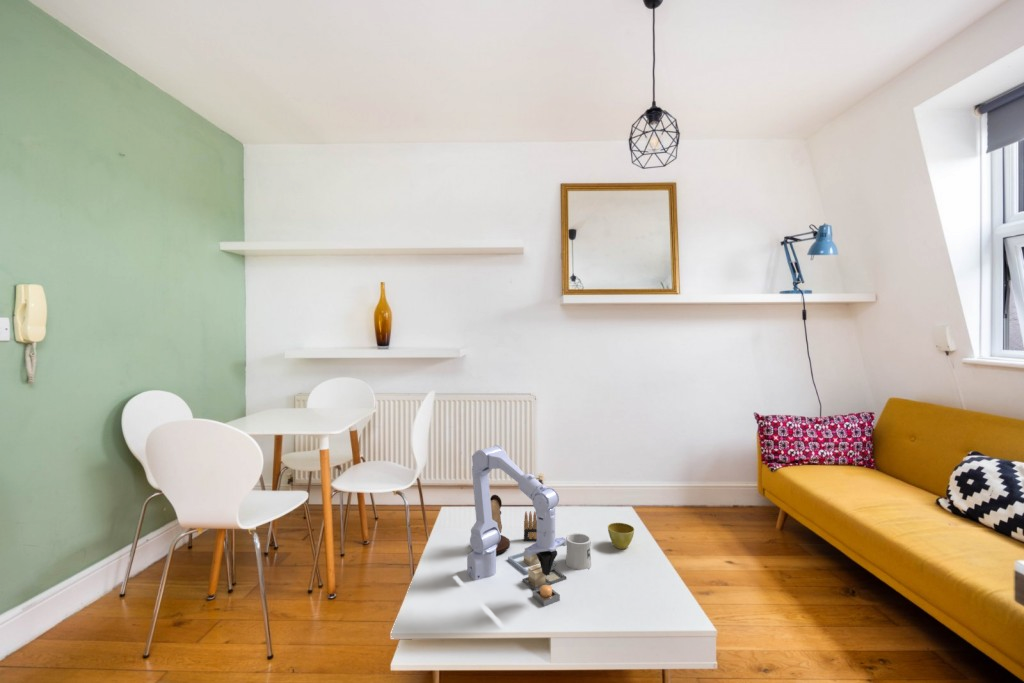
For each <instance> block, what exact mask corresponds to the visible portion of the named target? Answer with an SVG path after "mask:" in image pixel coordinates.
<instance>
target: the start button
mask: <svg viewBox="0 0 1024 683" xmlns="http://www.w3.org/2000/svg"><path fill="white" fill-rule="evenodd" d="M552 589H553V587H552V586H551V585H542V586H541V587H540V596H542V597H543V598H544V599H546V598H548V597H551V596H552Z"/></svg>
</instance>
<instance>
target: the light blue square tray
mask: <svg viewBox="0 0 1024 683" xmlns="http://www.w3.org/2000/svg"><path fill="white" fill-rule="evenodd" d="M518 558H519V559H520V558H524V551H523V552H520V553H517V554H513V555H510V556H508V557H507V561H509V563H511V564H513V565H514V566H515V567H516V568H518V569H519V570H520V571H521V572H522V573H524V574H525V575H527V576H528V569H526V568H525V567H524V566H522V565H521V564H520V563H518V562H517V561H516V559H518ZM556 563H557V562H556V561H555V560H554V561H553V564H552V567H555V566H556V565H557V564H556Z"/></svg>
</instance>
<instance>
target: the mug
mask: <svg viewBox="0 0 1024 683" xmlns="http://www.w3.org/2000/svg"><path fill="white" fill-rule="evenodd" d="M565 539H566V540H567V545H566V556H565V565H566V566H568V567H569V568H570V569H573V570H579V571H581V570H590V569H591V568H592V557H591V545H592V539H591V537H590V536H589V535H587V534H585V533H580V532H573V533H569V534H567V535H566V537H565Z"/></svg>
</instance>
